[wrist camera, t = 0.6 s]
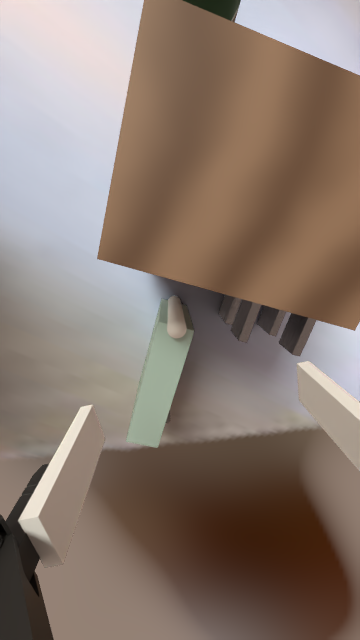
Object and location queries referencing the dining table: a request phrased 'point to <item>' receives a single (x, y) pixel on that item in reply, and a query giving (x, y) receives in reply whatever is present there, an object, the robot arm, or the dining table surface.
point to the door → (161, 372)
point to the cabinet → (238, 167)
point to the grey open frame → (266, 323)
